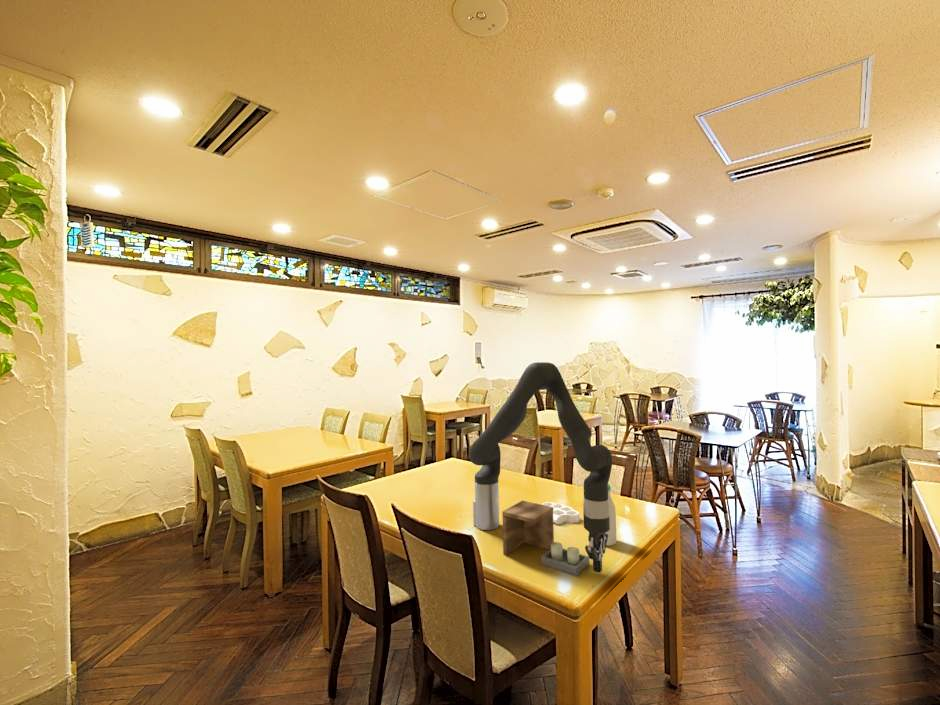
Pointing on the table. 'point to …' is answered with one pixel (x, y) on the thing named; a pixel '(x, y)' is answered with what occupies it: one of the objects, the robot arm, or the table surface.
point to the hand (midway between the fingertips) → (597, 571)
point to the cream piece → (572, 556)
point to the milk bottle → (611, 521)
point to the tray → (565, 563)
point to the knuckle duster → (563, 513)
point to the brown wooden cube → (527, 526)
